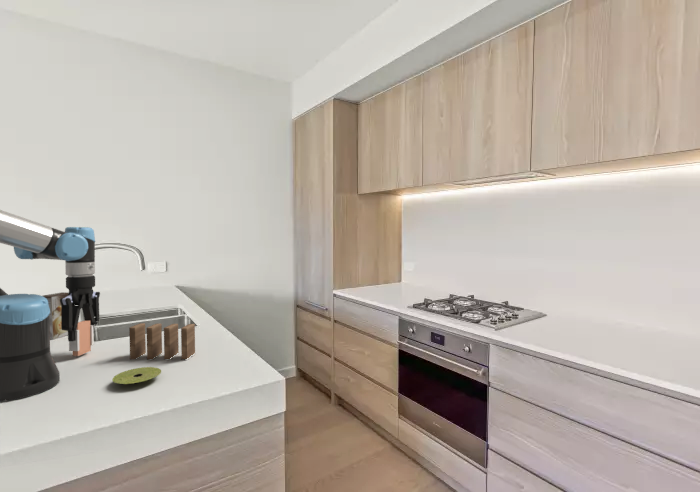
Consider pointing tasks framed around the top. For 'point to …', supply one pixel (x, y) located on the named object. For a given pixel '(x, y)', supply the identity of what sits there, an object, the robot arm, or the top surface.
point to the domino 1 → (83, 338)
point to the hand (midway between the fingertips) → (81, 347)
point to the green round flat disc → (136, 375)
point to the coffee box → (56, 314)
